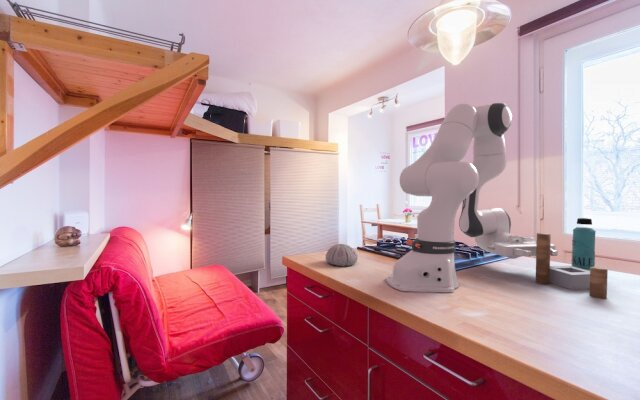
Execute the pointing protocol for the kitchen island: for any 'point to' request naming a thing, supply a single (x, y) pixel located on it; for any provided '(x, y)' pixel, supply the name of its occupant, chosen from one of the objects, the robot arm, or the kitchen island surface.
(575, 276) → the socket block
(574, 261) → the beverage bottle
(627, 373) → the kitchen island surface
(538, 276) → the long dowel
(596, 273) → the short dowel
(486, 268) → the kitchen island surface
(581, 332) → the kitchen island surface
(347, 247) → the sea urchin shell
